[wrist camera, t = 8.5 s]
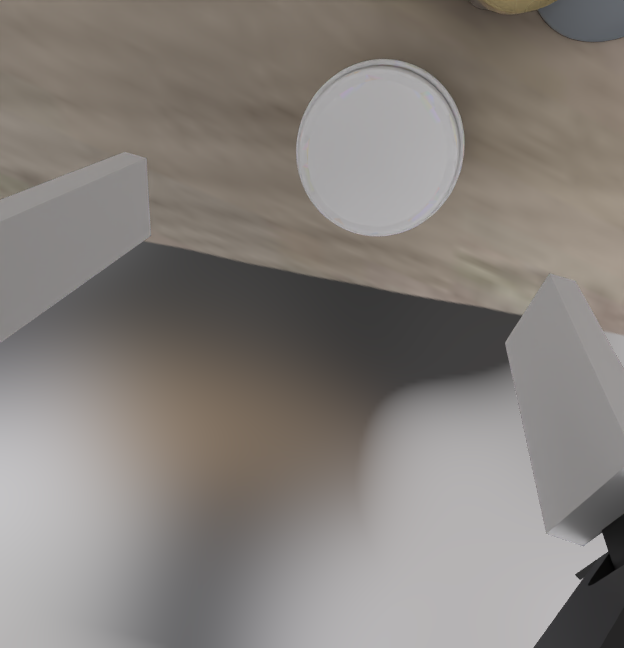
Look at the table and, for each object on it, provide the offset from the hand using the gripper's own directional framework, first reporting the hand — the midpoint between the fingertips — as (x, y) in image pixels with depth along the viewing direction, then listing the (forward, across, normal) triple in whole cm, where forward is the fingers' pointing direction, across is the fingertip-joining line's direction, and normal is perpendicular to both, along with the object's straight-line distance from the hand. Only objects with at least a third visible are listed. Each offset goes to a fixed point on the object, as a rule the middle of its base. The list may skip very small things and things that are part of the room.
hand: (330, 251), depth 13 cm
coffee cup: (+24, 0, 0) cm, 24 cm away
